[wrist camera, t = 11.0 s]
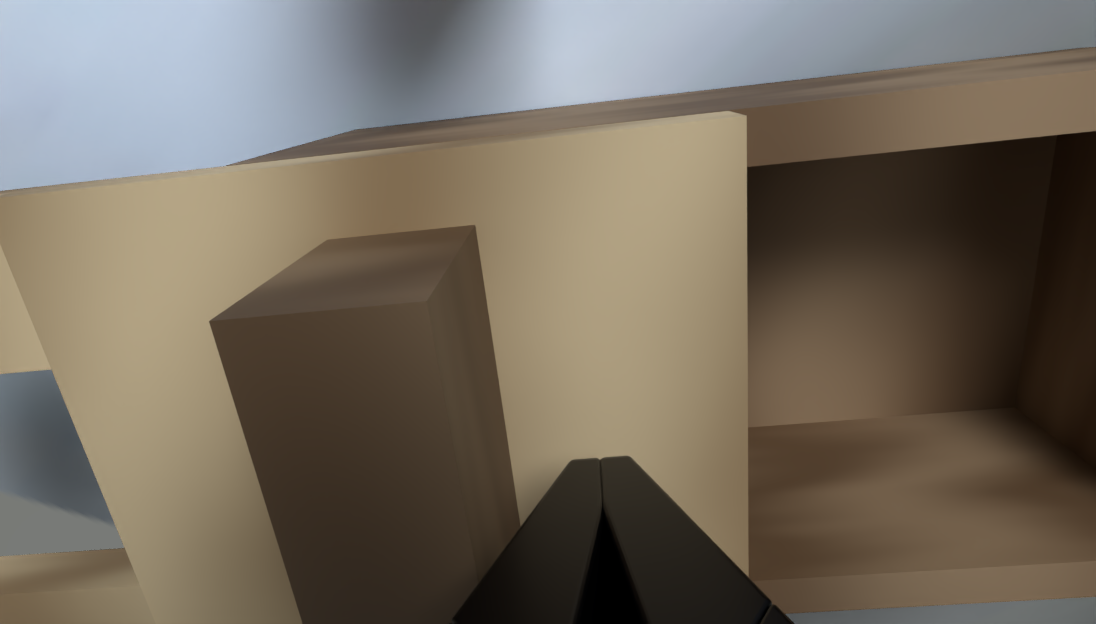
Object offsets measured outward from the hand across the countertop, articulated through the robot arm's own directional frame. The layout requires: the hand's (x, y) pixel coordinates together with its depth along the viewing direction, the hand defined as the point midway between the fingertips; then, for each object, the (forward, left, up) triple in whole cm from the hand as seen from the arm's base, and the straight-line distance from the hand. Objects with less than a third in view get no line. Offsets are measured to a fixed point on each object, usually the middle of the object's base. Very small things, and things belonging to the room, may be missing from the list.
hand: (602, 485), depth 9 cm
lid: (+6, 0, -2) cm, 6 cm away
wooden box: (-3, 0, -8) cm, 9 cm away
